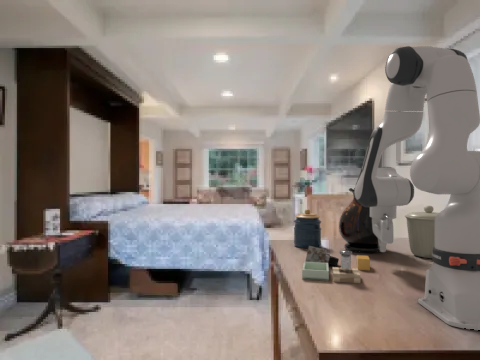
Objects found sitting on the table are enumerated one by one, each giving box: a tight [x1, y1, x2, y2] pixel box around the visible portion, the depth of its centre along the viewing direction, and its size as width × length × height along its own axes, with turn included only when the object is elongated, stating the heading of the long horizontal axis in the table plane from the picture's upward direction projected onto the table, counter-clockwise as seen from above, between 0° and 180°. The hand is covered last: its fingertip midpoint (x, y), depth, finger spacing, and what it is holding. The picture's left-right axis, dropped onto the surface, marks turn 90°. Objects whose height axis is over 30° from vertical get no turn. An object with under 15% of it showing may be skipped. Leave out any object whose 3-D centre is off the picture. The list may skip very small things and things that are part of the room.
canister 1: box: [293, 208, 322, 249], centre depth 168 cm, size 13×13×18 cm
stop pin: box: [339, 249, 353, 273], centre depth 112 cm, size 4×4×9 cm
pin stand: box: [332, 266, 361, 284], centre depth 112 cm, size 8×8×2 cm
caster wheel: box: [304, 246, 340, 267], centre depth 130 cm, size 7×11×10 cm
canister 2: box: [404, 205, 440, 259], centre depth 146 cm, size 18×18×21 cm
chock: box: [356, 254, 371, 271], centre depth 126 cm, size 6×4×4 cm, turn 166°
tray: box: [301, 261, 330, 282], centre depth 116 cm, size 11×8×3 cm
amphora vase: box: [338, 187, 382, 254], centre depth 158 cm, size 22×22×28 cm
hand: (382, 251), depth 125 cm, fingers closed
